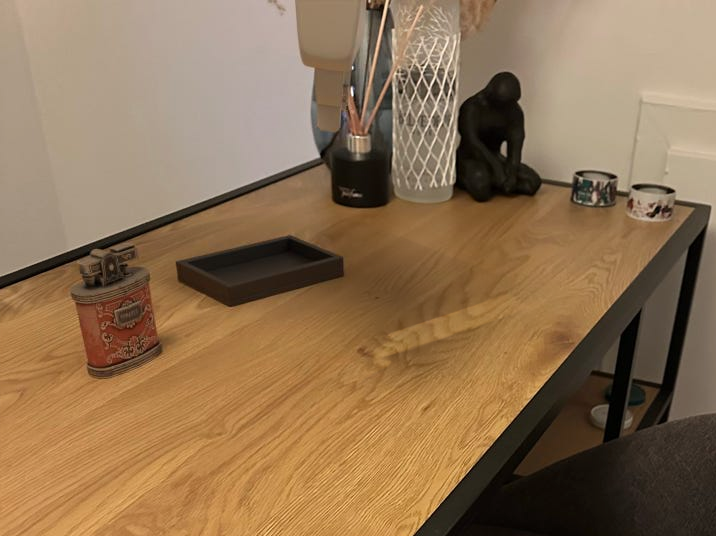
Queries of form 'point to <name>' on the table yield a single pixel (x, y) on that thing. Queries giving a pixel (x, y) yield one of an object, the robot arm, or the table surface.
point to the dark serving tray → (259, 269)
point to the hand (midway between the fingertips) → (333, 118)
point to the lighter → (115, 312)
